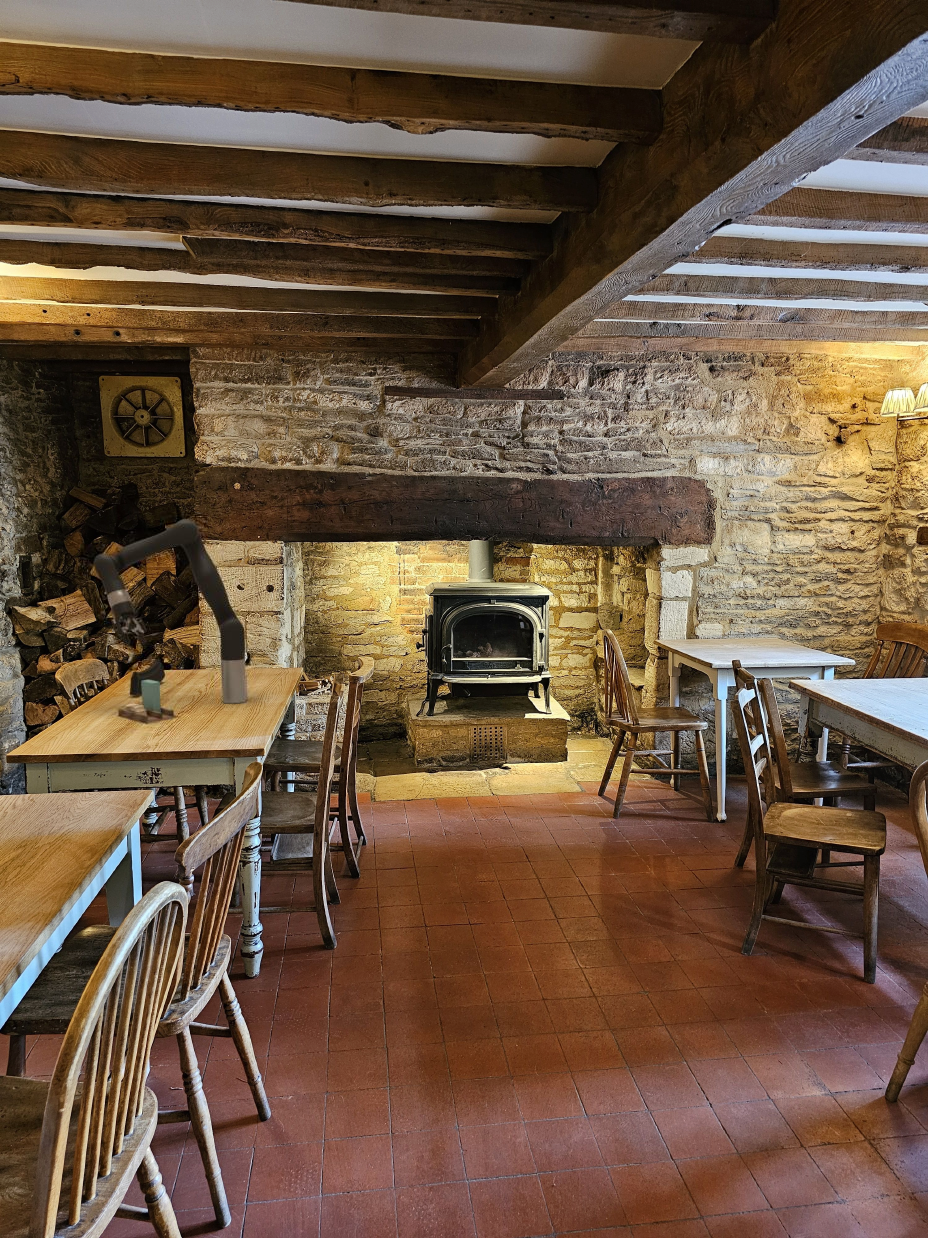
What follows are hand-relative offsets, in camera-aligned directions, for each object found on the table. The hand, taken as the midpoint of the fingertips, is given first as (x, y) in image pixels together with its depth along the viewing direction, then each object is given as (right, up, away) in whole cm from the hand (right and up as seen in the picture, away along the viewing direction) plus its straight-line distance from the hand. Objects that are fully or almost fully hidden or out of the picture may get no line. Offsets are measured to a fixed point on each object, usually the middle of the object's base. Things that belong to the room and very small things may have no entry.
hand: (135, 643), depth 300 cm
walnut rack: (+7, -28, -6) cm, 29 cm away
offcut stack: (+3, -26, -7) cm, 27 cm away
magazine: (-13, -21, +44) cm, 51 cm away
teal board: (+7, -26, -2) cm, 27 cm away
